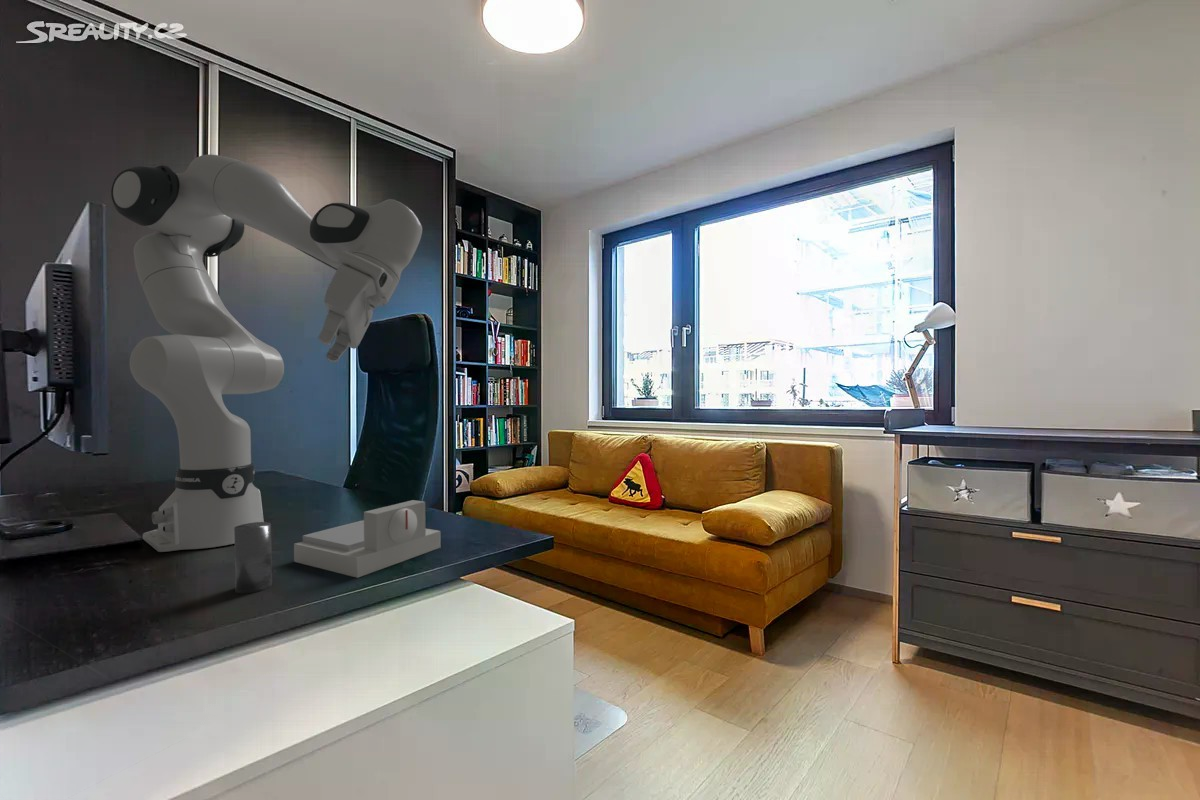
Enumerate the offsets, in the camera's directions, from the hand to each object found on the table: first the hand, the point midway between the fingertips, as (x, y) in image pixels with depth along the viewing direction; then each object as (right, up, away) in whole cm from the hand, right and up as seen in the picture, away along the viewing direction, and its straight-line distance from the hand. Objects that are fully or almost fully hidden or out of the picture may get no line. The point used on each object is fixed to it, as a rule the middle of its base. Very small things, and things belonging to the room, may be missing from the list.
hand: (327, 352), depth 84 cm
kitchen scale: (+5, -35, +6) cm, 35 cm away
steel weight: (-6, -35, -9) cm, 37 cm away
